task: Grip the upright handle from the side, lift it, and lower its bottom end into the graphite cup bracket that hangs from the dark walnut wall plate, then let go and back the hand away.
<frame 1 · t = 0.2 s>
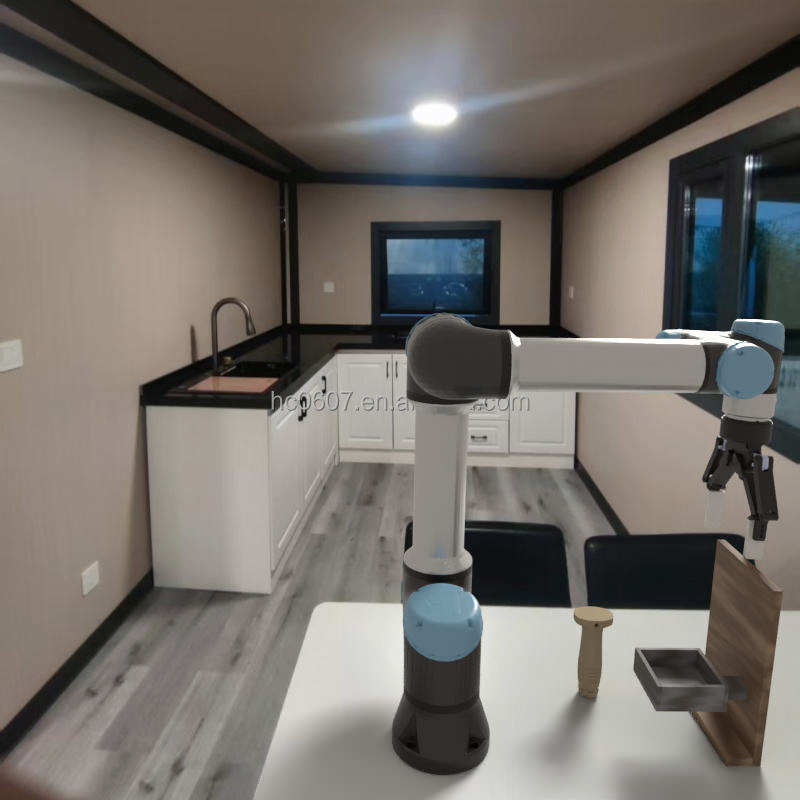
hand: (731, 541, 115), 27 cm above the table, tool pointing down, fingers open, 13 cm apart
bracket: (672, 741, 107), on the table
handle: (587, 694, 119), on the table
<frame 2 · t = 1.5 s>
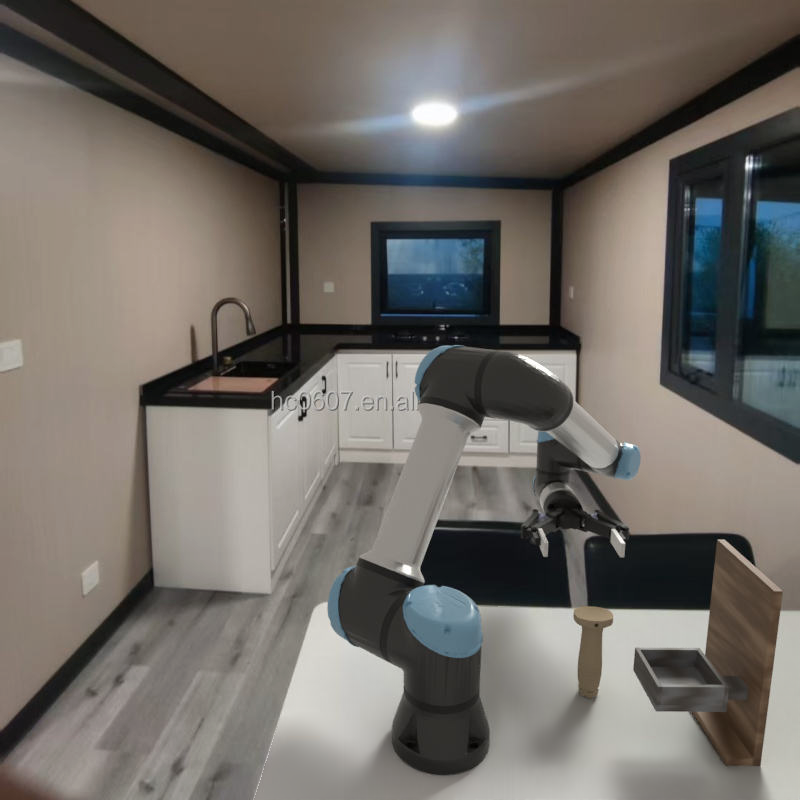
hand: (584, 550, 123), 22 cm above the table, tool horizontal, fingers open, 13 cm apart
nothing on the table moved.
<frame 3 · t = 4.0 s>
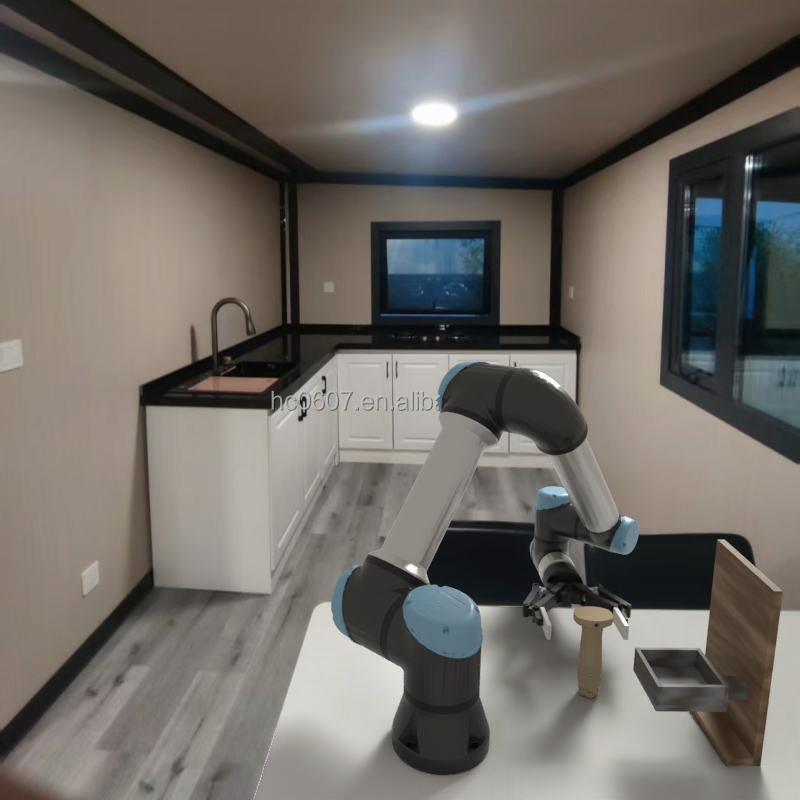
hand: (587, 632, 121), 9 cm above the table, tool horizontal, fingers open, 13 cm apart
nothing on the table moved.
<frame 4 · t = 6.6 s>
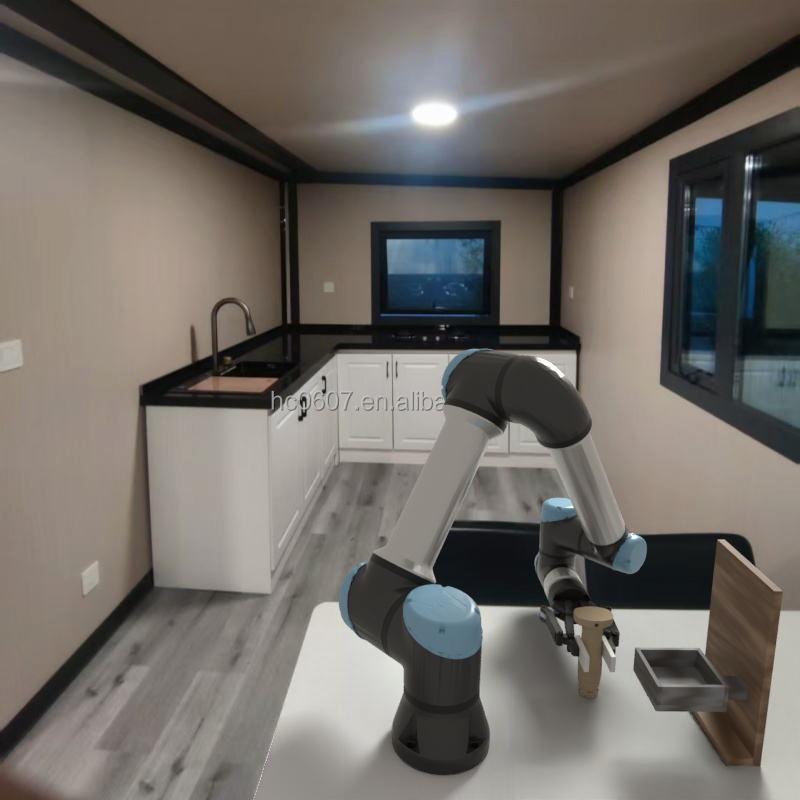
hand: (599, 664, 112), 9 cm above the table, tool horizontal, fingers closed on handle, 4 cm apart
handle: (587, 694, 119), on the table, touching gripper
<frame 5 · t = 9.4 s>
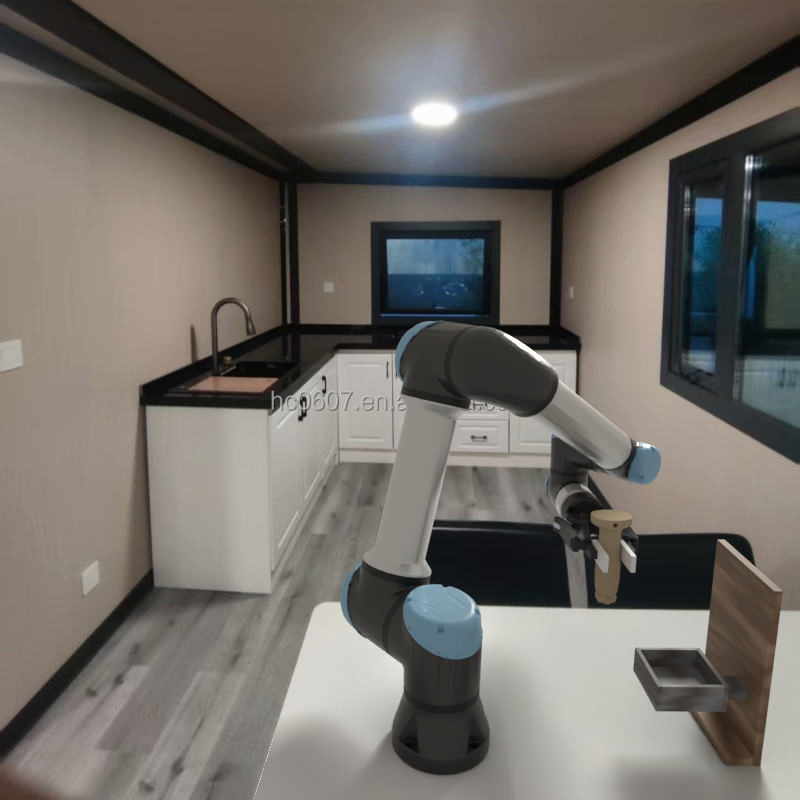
hand: (619, 564, 107), 27 cm above the table, tool horizontal, fingers closed on handle, 4 cm apart
handle: (605, 601, 114), point 18 cm above the table, touching gripper
when the fingers open (20 cm above the table, at t = 12.1 s): handle drops 1 cm, resting on bracket.
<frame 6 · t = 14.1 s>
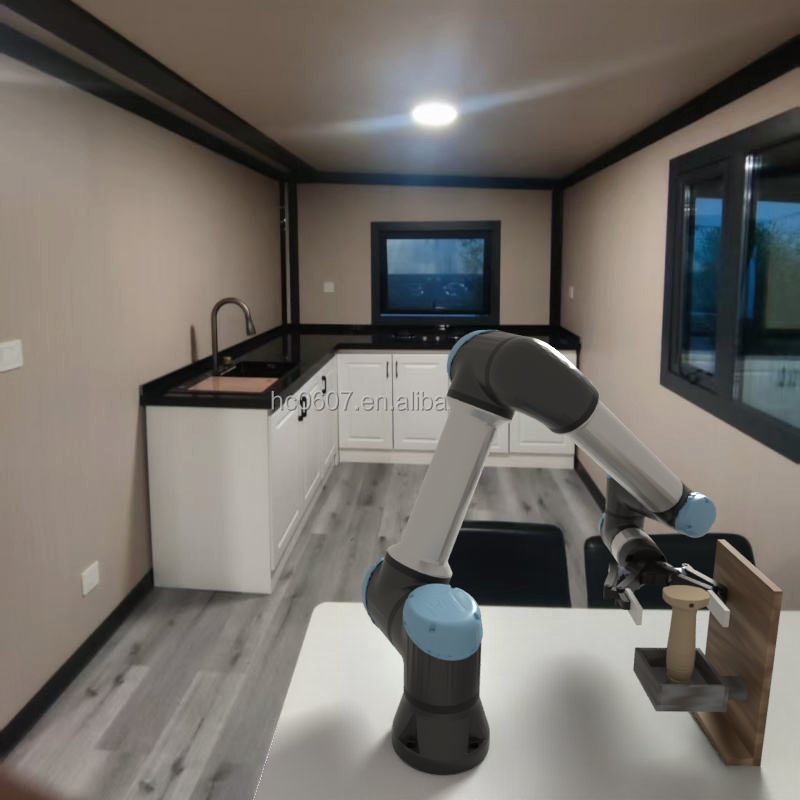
hand: (683, 618, 103), 21 cm above the table, tool horizontal, fingers open, 12 cm apart
handle: (678, 685, 105), point 10 cm above the table, touching bracket
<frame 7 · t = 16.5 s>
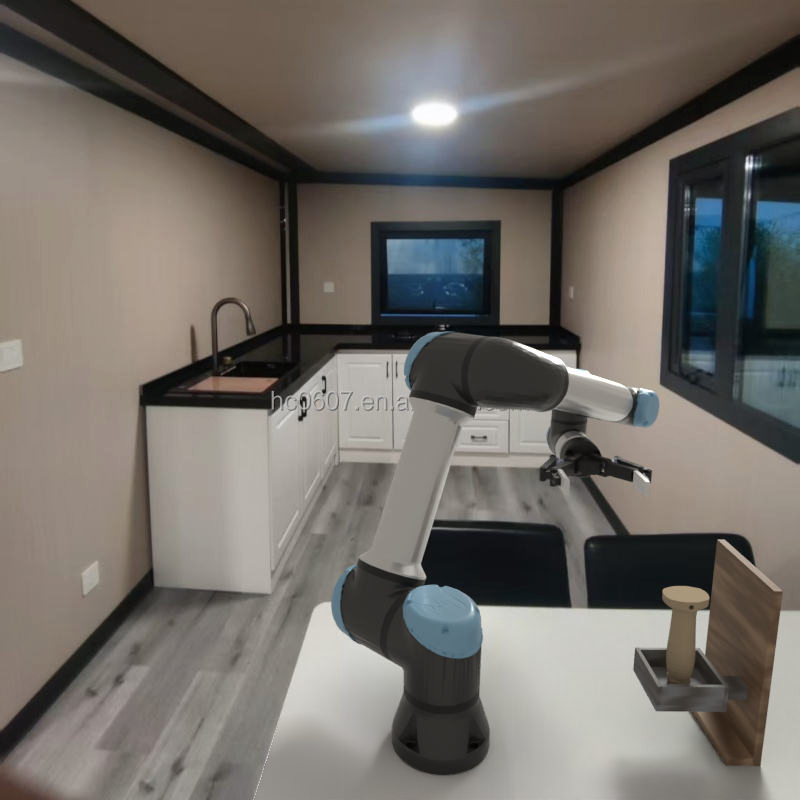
hand: (607, 488, 118), 35 cm above the table, tool horizontal, fingers open, 13 cm apart
nothing on the table moved.
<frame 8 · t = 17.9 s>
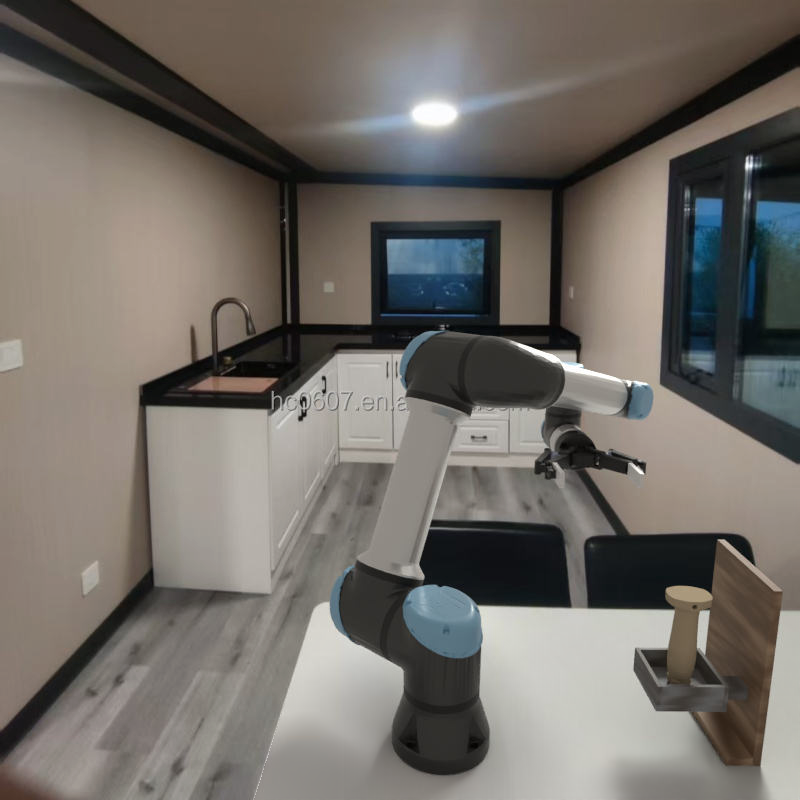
hand: (602, 481, 118), 36 cm above the table, tool horizontal, fingers open, 13 cm apart
nothing on the table moved.
at the end: handle 0.0 cm off-centre on the bracket, point 9.8 cm above the bracket's base; handle tilted 1°; the gripper is holding nothing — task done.
